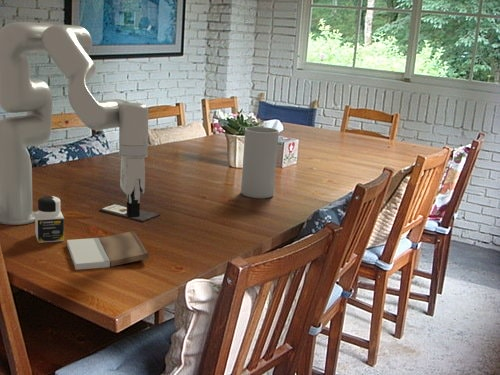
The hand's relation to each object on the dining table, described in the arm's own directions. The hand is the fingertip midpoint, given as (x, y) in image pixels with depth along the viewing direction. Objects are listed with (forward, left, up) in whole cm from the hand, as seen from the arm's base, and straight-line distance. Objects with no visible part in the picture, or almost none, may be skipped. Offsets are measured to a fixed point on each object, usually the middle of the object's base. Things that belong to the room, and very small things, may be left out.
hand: (133, 216), depth 174 cm
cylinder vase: (+59, +50, -11) cm, 78 cm away
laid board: (-12, 0, -11) cm, 16 cm away
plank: (-2, 0, -10) cm, 10 cm away
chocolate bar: (+7, +35, -11) cm, 38 cm away
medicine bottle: (-20, +16, -11) cm, 28 cm away
